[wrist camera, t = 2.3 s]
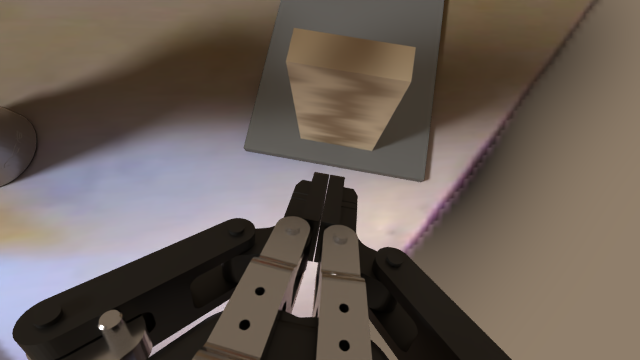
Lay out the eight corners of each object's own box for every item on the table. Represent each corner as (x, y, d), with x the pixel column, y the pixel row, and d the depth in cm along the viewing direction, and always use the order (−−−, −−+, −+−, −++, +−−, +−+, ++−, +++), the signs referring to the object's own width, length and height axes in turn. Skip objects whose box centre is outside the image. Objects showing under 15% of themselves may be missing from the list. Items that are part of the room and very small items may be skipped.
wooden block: (300, 138, 32) (285, 61, 18) (305, 117, 32) (293, 27, 19) (371, 150, 32) (411, 81, 18) (375, 129, 32) (415, 46, 18)
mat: (245, 150, 33) (243, 148, 32) (292, -34, 38) (291, -41, 37) (420, 182, 32) (424, 180, 31) (442, -11, 37) (446, -18, 36)
